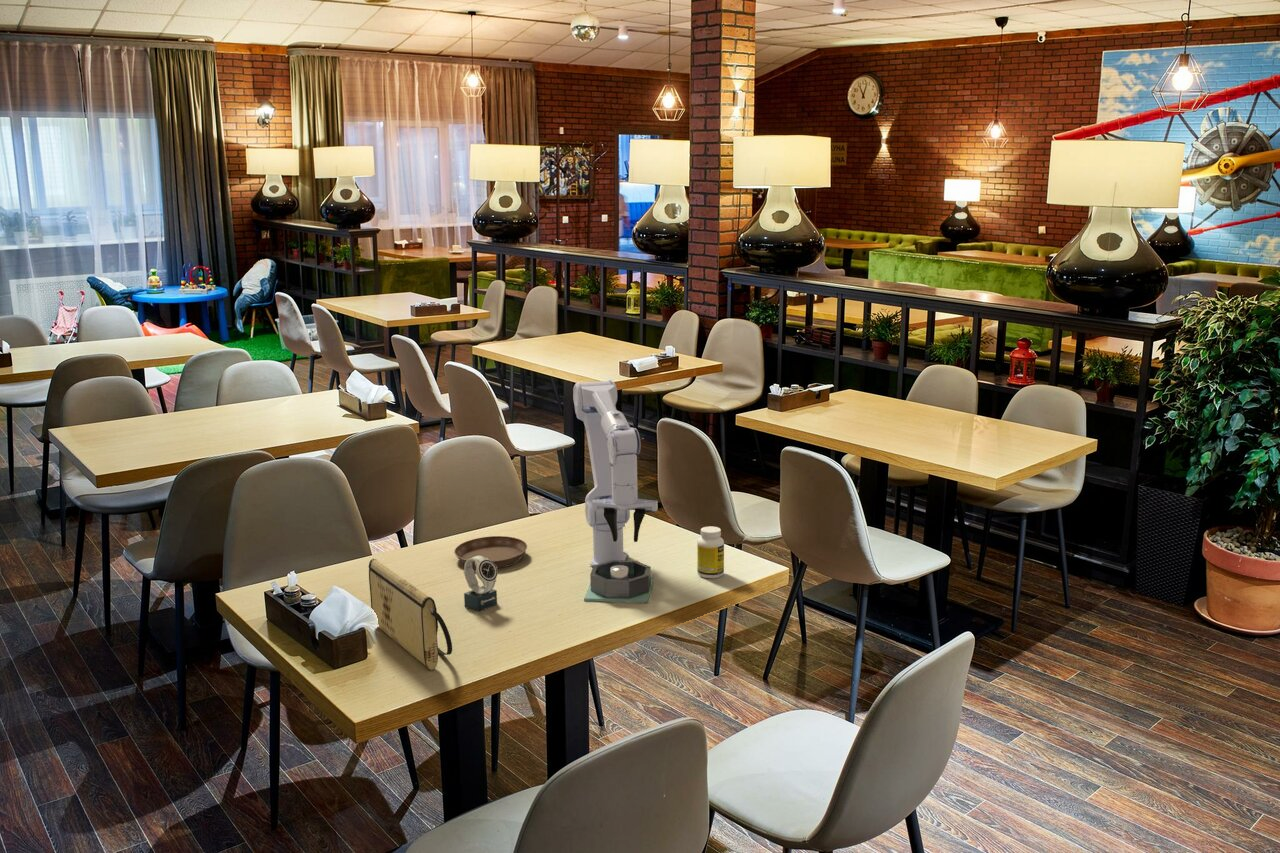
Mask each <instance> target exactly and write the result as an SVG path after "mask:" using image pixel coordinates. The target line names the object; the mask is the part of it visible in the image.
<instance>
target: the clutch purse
mask: <svg viewBox="0 0 1280 853" xmlns="http://www.w3.org/2000/svg"><path fill="white" fill-rule="evenodd" d="M368 583H369V595H370V607H371V608H372V609H373V610H374V612H375V613H376V615H377V618H378V624H379V627H378V628H379V629H380V630H381V631H383V632H384V633H385V634H386V635H387V636H389V638H391V639H392V640H394V641H395V642H396V643H397V644H399V645H400V647H402V648H404V650H406V651H407V652H408V653H409V654H410V655H412V656H413V657H414V658H415V659H416V660H418V661H419V662H420V663H421V664H422V665H424V666H425V667H426V668H427V670H428V671H434V670H436V667H437V665H438V660H439V654H440V655H444V656H445V655H449V656H450V655H451V654H452V653H453V643H452V638H451V635H450V633H449V629H448V627H447V625H446V623H445V621H444V619H443V617H442V616H441V615H440V613H439V612H437V605H436V603H435V600H434V599H433V598H432V597H430V596H429V595H427V594H426V593H425V592H423V591H422V590H420V589H419V588H417V587H416V586H415V585H413V584H412V583H411V582H409V581H407V580H406V579H405V578H403V577H401V576H400V575H399V574H398V573H396V572H394V571H393V570H392V569H390V568H388V567H387V566H386V565H385V564H383V563H382V562H380V561H379V560H378V559H377V558H372V559H370V561H369V562H368ZM439 626H440V628H441V630H442V633H443V635H444V639H445V643H446V650H447V651H446V652H444V651H443V650H441V648H439V646H438V630H439Z"/></svg>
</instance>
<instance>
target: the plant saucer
mask: <svg viewBox="0 0 1280 853" xmlns="http://www.w3.org/2000/svg"><path fill="white" fill-rule="evenodd" d="M527 549H528V544H527V543H526V542H525V541H524V540H523V539H520V538H516V537H512V536H502V535H497V536H494V535H493V536H482V537H477V538H472V539H470V540H467V541H464V542H462V543H460V544H458V545H457V546H456V547H455V548H454V552H453V553H454V555H455V556H456V557H457V559H458V560H459V561H460V562H461V563H462V564H464V565H465V562H466V561H467V560H468V559H470V558H473V557H475V556H483V557H485V558H487V559H489V560H491V561H492V562H493V563H494V564H495V565H496V566H497V569H500V568H505V567H509V566H512V565H514V564H516V563H517V562H518V561H520V560H521V559H522V557H523V556H524V555H525V553H526V551H527ZM472 569H476V565H475V560H474V561H473V563H472Z"/></svg>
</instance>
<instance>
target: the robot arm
mask: <svg viewBox="0 0 1280 853" xmlns="http://www.w3.org/2000/svg"><path fill="white" fill-rule="evenodd" d="M572 394H573V395H572V397H573V398H572V400H573V404H574V405H573V406H574V412H575V415H576V418H577V419H578V420H580V421H582V422H583V424H584V427H585V432H586V439H587V445H588V446H587V447H588V452H589V459H590V464H591V465H590V466H591V471H592V479H593V485H594V486H593V487H594V488H592V489H591V490H590V491H589V492H588V493H587V494H586V496H585V499H584V503H585V504H584V505H585V508H584V509H585V510H584V512H585V514H584V515H585V519H586V523H587V524H588V526H589V527H591V528H592V539H593V540H592V541H593V542H592V543H593V544H592V545H593V547H592V548H593V549H592V550H593V556H592V559H591V561H590V564H589V565H590V567H591V566H592V567H594V565H598V564H601V563H605V562H608V561H612V560H626V559H627V556H628V551H625V550H624V528H626V524H627V523H628V522H629V520H630V518H631V511H634V512H633V515H632V516H633V528H634V529H633V543H637V542H638V540H639V535H640V534H639V533H640V529H641V524H642V523H643V520H644V518H645V516H646V512H647V511H651V512H657V511H658V506H659V504H658V500H653V499H652V500H651V499H643V498H639V497H638V455H639V454H640V453H641V437H640V433H639V431H638V429H637V428H636V427H635V428H634V427H631V426H630V424H629V423H628V420H627V418H626V417H625V414H624V413H622V411H620V410H618V409H617V407H616V405H617V402H618V389H617V385H616V383H615V382H614V381H613V380H612V379H609V380H601V381H590V382H586V381H585V382H578V381H577V382H575V384H574V386H573V389H572Z"/></svg>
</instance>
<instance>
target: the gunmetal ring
mask: <svg viewBox="0 0 1280 853" xmlns="http://www.w3.org/2000/svg"><path fill="white" fill-rule="evenodd" d="M616 565H623V566H627V567H628V578H629V580H616V579H611V574H610V568H611V567H613V566H616ZM651 577H652V567H651V566H649V565H647V564H645V563H642V562H641V561H638V560H626V559H625V560H612V561H608V562H605V563H601V564H598V565H594V566H592V569H591V572H590V577H589V578H590V583H591V591H592V592H594V593H596V594H598V595H600V596H602V597H604V598H621V599H630V598H634V597H637V596H640V595H643V594H646V593H649V590H650V586H651Z"/></svg>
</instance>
